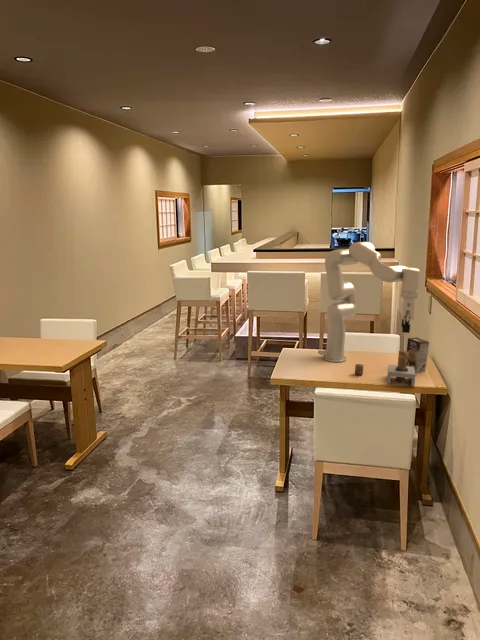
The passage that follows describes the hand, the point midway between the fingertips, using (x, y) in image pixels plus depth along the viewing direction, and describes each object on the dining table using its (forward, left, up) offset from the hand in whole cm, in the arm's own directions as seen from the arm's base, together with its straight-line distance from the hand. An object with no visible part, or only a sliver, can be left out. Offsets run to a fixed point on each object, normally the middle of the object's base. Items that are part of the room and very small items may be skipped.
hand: (405, 329), depth 239 cm
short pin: (-20, +3, -26) cm, 33 cm away
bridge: (0, 0, -26) cm, 26 cm away
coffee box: (+8, +21, -26) cm, 34 cm away
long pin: (0, 0, -26) cm, 26 cm away
